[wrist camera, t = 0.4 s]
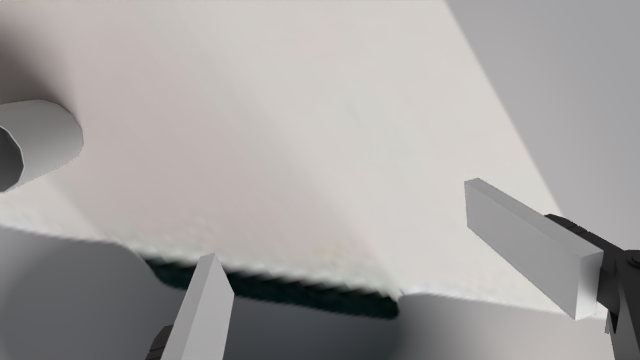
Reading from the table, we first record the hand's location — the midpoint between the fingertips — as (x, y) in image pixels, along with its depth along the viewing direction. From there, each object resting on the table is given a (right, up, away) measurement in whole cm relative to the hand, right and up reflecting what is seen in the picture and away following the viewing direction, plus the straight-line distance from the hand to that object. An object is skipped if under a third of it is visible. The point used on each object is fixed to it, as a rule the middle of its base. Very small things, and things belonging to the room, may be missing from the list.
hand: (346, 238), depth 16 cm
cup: (-36, +9, +23) cm, 44 cm away
